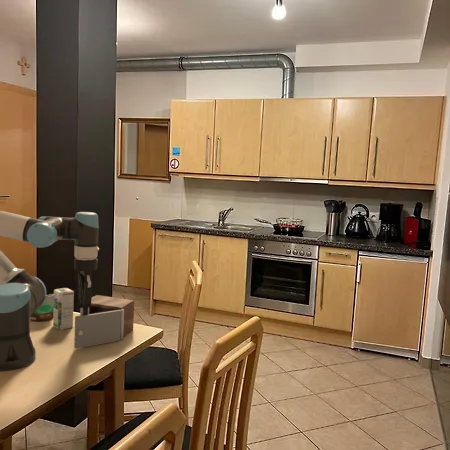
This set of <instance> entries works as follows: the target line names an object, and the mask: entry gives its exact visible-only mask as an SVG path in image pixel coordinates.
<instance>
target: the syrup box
mask: <svg viewBox="0 0 450 450" xmlns="http://www.w3.org/2000/svg"><path fill="white" fill-rule="evenodd" d="M53 293H54V312H53V319H52V320H53V322H52V325H53V327H54V328H56V329H57V330H58V331H61V330H62V331H63V330H65V329H71V328H74V326H73V325H74V302H75V301H74V297H75V291H74V290H72V289H70V288H68V287H62V288H61V287H60V288H56V289H54V290H53Z"/></svg>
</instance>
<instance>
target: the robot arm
mask: <svg viewBox="0 0 450 450" xmlns="http://www.w3.org/2000/svg"><path fill="white" fill-rule="evenodd" d="M99 229H100V226H99V215H98V214H97V213H96V212H91V211H79V212H78V211H77V212H76V213H75V216H74V217H63V216H52V215H51V216H50V215H49V216H40V217H38V218H33V217H29V216H26V215H25V216H24V215H21V214H17V213H12V212H9V211H3V210H0V237H3V238H7V239H13V240H17V241H21V242H26V243H29V244H30V245H31V246H33V247H35V248H47V247H50V246H52V245H53V244H54V243H56V242H58V241H59V240H60V241H61V240H63V241H64V240H66V241H67V240H68V241H74V255H73V256H74V260H73V261H74V265H73V267H74V270H75V271H78V272H80V273H78V274H77V278H78V302H79V308H80V310H79V316H81V315H88V314H89V307H91V299H92V297H93V288H94V281H93V278H94V275H93V274H92V272H93V271H96V270H97V269H98V261H99V259H98V258H97V257H98V251H100V248H99V231H100V230H99ZM46 295H47V287H46V285H45V284H44V282H43V281H42V280H41V279H40V278H38V277H37V276H34V275H30V274H29V273H28V272H27V270H26V269H25V268H18V267H17V266H16V265H15V264H14V263H13V262H12V261H11V260H10V259H9V258H8V257H7V256H6V255H5V253H4V252H3V251H2V249H0V371H11V370H16V369H20V368H23V367H27V366H28V365H31V364H32V363H33V362H34V361H35V360H36V355H37V354H36V348H35V347H34V343H33V341H32V337H31V334H30V332H31V331H30V329H31V328H30V327H31V324H30V323H31V321H30V316H31V315H32V314H33V313H34V312H35V311H36V310H38V309H39V308H40V307H41V306H42V304H43V302H44V301H45V298H46Z"/></svg>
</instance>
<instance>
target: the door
mask: <svg viewBox="0 0 450 450" xmlns="http://www.w3.org/2000/svg"><path fill="white" fill-rule="evenodd" d="M123 329H124V309H121V310H115V311H108V312H102V313H95V314H88V315H81V316H80V315H75V316H74V349H75V350H76V349H81V348H87V347H93V346H97V345H103V344H108V343H113V342H118V341H122V340H123V341H124V338H123Z"/></svg>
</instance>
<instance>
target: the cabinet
mask: <svg viewBox="0 0 450 450" xmlns="http://www.w3.org/2000/svg"><path fill="white" fill-rule="evenodd" d="M121 309H124V329H123V339H124V338H125V337H127V336H128V335H129V334H131V333H133V331H134V319H135V318H134V317H135V316H134V315H135V313H134V312H135V300H134V299H133V300H132V299H128V298H127V299H126V298H118V297H114V296H107V295H99V294H95V296H94V295H93V296H92V299H91V307H89V314H95V313H102V312H108V311H115V310H121Z"/></svg>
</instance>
